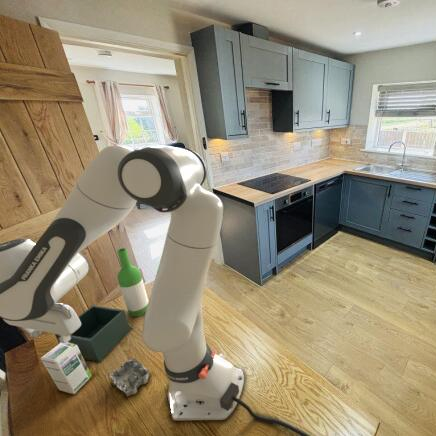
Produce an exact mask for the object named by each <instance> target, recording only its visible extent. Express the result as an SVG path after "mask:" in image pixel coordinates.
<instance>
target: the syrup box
mask: <svg viewBox="0 0 436 436" xmlns="http://www.w3.org/2000/svg"><path fill="white" fill-rule="evenodd" d="M85 360H86V359H84V358H83V356H82V354H81V352H80V350H79V348H78V346H77V345H76V344H72V343H69V342H67V343H59V342H58V344H57V345H55V346H54V347H53V348H51V349H50V350H49V351H48V352H46V353H45V354H44V355H43V356H41V357H40V361H41V363H43V366H44V367H45V369H46V370H47V373H48V374H49V375H50V377H51V379H52V381H53V382H54V384H55V386H56V387H57V389H58V390H59V391H60V392H61V391H62V392H64V393H68V394H72V395H76V393H77V392H78V391H79V390H80V389H81V388H82V387H83V386H85V384H86V383H87V382H88V381H89V380H90V379H91V378H92V377H93V375H92V373H91V371H90V369H89V367H88V364H87V363H86V361H85Z"/></svg>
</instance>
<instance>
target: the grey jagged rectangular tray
mask: <svg viewBox="0 0 436 436" xmlns="http://www.w3.org/2000/svg"><path fill="white" fill-rule="evenodd" d="M149 372H150V370H149V369H147V367H145V366H144V365H143V364H142V363H141V362H139V361H138V359H136V358H135V357H132V358H129V359H128V360H126V361H125V362H124V363H123V364H121V365H120V367H119V368H118V369H113V370H112V371H111V372H108V373H107V375H108V376H109V377H110V378H111V379H110V381H111V383H112V385H113V386H116V387H117V388H118V389H119V390H120V391H122V392H123V393H124V394H125V395H126V397H129V396H131V395H132V396H133V395H135V394H136V393H138V388H139V387H140V386H142V385H146V384H147V383H148V382H149V380H148V379H149V378H150V374H149Z"/></svg>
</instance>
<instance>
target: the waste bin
mask: <svg viewBox="0 0 436 436" xmlns="http://www.w3.org/2000/svg"><path fill="white" fill-rule="evenodd" d="M77 316H78V318H79V319H80V321H81V326H80V328H79V329H77V330H76V331H75V332H74V333H73V334H71V335H70V337H71V340H70V341H68V342H69V343H72V344H76V345H77V346H78V348H79V350H80V352H81V354H82V356H83V358H84V360H88V361H93V362H97V363H100V362H101V361H102V360H103V359H104V358H105V357H106V355H108V354H109V353H110V352H111V350H113V348H114V347H115V346H117V344H118V343H119V342H120V341H121V340H122V339H123V338H124V337H125V336H126V335H127V334H128V333H129V332H130V331H131V330H132V329H131V326H130V323H129V320H128V317H127V313H126V311H125V310H124V309H119V308H113V307H107V306H102V305H95V304H93V305H91V306H90V307H89V308H87V309H86V310H84V312H82V313H81V314H79V315H77ZM54 336H55V338H56V340H57V342H58V344H59V343H60V341H59V338H60V337H61V336H60V335H59V334H54Z"/></svg>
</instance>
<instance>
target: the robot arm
mask: <svg viewBox="0 0 436 436" xmlns="http://www.w3.org/2000/svg"><path fill="white" fill-rule="evenodd" d="M207 175H208V168H207V164H206V162H205V160H204V158H203V157H202V156H201V155H200V154H199V153H198V152H196V151H194V150H192V149H190V148H187V147H177V146H176V147H175V146H171V145H157V146H144V147H140V148H137V149H132V148H130V147H127V146H123V145H117V144H115V145H109V146H106V147H104V148H102V149H101V150H100V151H99V152H98V153H97V154H96V155H95V156H94V157H93V159H91V161H90V162H89V163H88V164H87V166H86V167H85V168H84V169H83V170H82V172H81V174H80V176H79V177H78V179H77V180H76V182H75V184H74V185H73V187H72V189H71V191H70V192H69V194H68V196H67V197H66V199H65V201H64V202H63V203H62V205H61V207H60V209H59V211H58V212H57V213H56V215H55V216H54V218H53V219H52V220H51V222H50V224H49V225H48V226H47V228H46V230H45V231H43V233H42V235H40V237H39V238H38V240H37V241H36V242H33V241H32V240H31V239H28V238H16V239H12V240H8V241H6V242H3V243H0V319H2V320H3V321H4V322H5V323H7V324H8V325H10V326H15V327H20V328H22V329H23V330H24V331H25V332H27V333H28V334H29V335H30V338H31V337H32V338H39V337H40V336H41V335H43V332H44V333H50V334H54V335H55V334H59V335H60V336H61V337H60V338H59V341H60V343H67V342H68V341H70V340H71V337H70V335H71V334H73V333H74V332H75V331H76V330H77V329H79V328H80V326H81V321H80V319H79V318H78V316H79V315H78V314H77V313H76V311H75V310H74V308H73V307H72V306H70V305H68V304H64V303H61V302H59V301H60V300H61V299H62V298H63V297H65V295H66V294H67V293H68V292H70V291H71V290H72V289H73V288H74V287H75V286H77V284H78V283H80V282H81V281H82V279H84V278H85V277H86V276H87V275H88V274H89V271H90V264H89V261H88V259H87V257H86V256H85V255H84V254H83V253H81V252H82V251H83V250H84V249H86V248H87V247H88V246H89V245H91V244H92V243H93V242H95V241H97V240H98V239H100V238H101V237H102V236H104V235H106V233H108V232H109V231H111V230H112V229H114V227H116V226H118V225H119V224H121V222H122V221H124V219H125V218H126V217H127V216H128V215H129V213H131V211H132V210H133V209H134V207H135V205H136V204H137V202H138V203H141V204H143V205H145V206H149V207H151V208H153V209H154V210H155V211H157V212H159V213H170V221H169V225H168V229H167V232H166V236H165V241H164V244H163V248H162V253H161V257H160V261H159V264H158V266H157V267H158V268H157V271H156V275H155V277H154V281H153V285H152V289H151V292H150V296H149V298H148V301H149V302H148V306H147V309H146V313H144V318H143V324H142V331H141V332H142V335H141V338H142V343H143V344H144V345H145V347H146V348H148V349H149V350H151V351H154V352H156V353H161V354H162V357H163V367H164V373H165V375H166V377H167V378H168V390H167V400H168V403H169V405H170V409H171V410H170V412H171V418H172V420H173V421H176V422H177V421H224V420H226V419H228V417H230V416H231V414H232V413H233V411H234V410H235V408H236V407H237V404H238V405H240V406H242V407H243V408H244V409H245V410H246V411H247V412H248V414H249V415H250V416H251V417H252V418H253V419H256V420H258V421H261V422H265V423H271V424H276V425H278V426H282V427H284V428H285V429H288V430H290V431H292V432H294V433H295V434H297V435H299V436H311V435H310V434H308V433H306V432H304V431H302V430H301V429H299V428H297V427H295V426H293V425H291V424H289V423H287V422H285V421H282V420H280V419H276V418H272V417H266V416H262V415H259V414H257V413H255V412H254V411H253V410H252V408H251V407H250V406H249V405H248V404H247V403H245V402H244V401H242V400H241V399H240V397H241V394H242V392H243V388H244V383H245V382H244V381H245V377H244V376H245V375H244V372H243V369H240V368H238V367H235V366H234V364H233V363H231V362H230V361H228V360H227V359H226V355H225V354H224V353H219V354H217V351H216V348H214V349H213V350H212V349H211V347H210V346H209V344H208V343H207V342H206V335H205V329H204V318H203V317H204V316H203V302H202V299H203V295H204V292H205V287H206V283H207V278H208V274H209V270H210V267H211V264H212V260H213V257H214V254H215V251H216V248H217V245H218V242H219V241H218V240H219V238H220V234H221V230H222V224H223V218H224V217H223V216H224V204H223V201H222V200H221V199H220V197H218V196H217V195H216V194H214V193H213V192H211V191H208V190H206V189H204V188H203V187H202V185H203V184H204V182H205V181H206V179H207Z"/></svg>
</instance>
